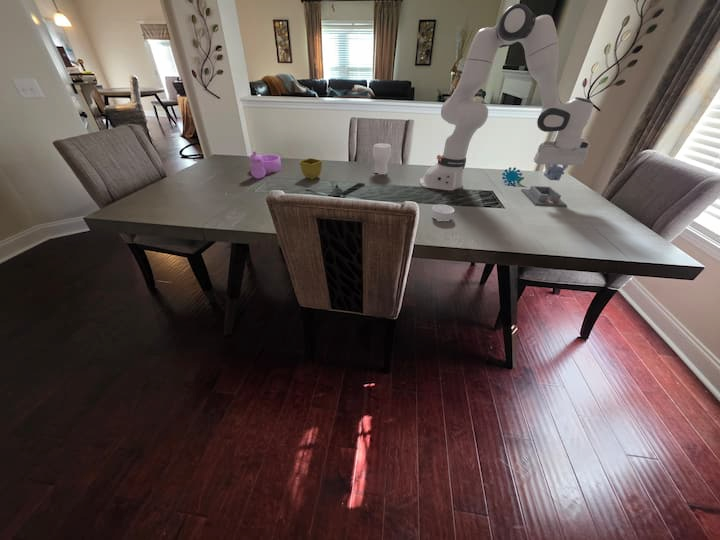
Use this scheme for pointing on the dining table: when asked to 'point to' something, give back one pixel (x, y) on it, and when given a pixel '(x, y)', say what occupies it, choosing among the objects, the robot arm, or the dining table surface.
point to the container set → (264, 164)
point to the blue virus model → (512, 176)
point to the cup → (381, 157)
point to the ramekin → (442, 212)
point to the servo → (554, 172)
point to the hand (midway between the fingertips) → (552, 174)
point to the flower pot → (311, 167)
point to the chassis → (543, 196)
